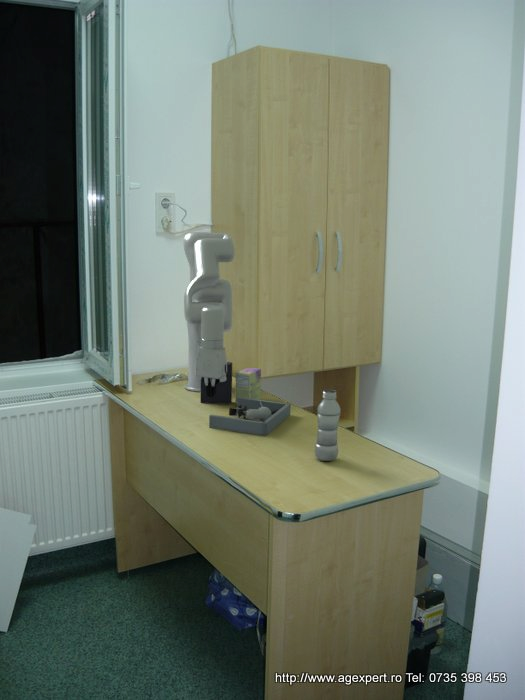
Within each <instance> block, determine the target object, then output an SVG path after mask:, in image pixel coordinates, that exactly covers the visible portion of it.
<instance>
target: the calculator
mask: <svg viewBox="0 0 525 700" xmlns="http://www.w3.org/2000/svg"><path fill="white" fill-rule="evenodd" d="M226 378H227V380H226V381H225V382H219V383H218V384H217V385H216V394H215V396H213V397H212V398H211V397H207V394H206V385H205V383H204V381H203V380H202V379H201V392H200V403H202V404H216V405H220V404H221V405H231V403H232V402H233V401H232V400H233V399H232V397H233V396H232V395H233V394H232V393H233V362H231V361H227V375H226ZM211 383H212V378H211Z"/></svg>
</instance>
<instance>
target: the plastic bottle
mask: <svg viewBox="0 0 525 700" xmlns="http://www.w3.org/2000/svg"><path fill="white" fill-rule="evenodd" d="M341 411H342V409H341V407H340V404H339V403H338V401H337V390H333V389H324V390H323V391H322V400H321V402H320V403H319V404H318V405H317V412H316V413H317V427H318V429H317V437H316V438H317V439H316V443H315V447H314V455H315V457H316V459H317V460H319V461H322V462H331V461H332V462H333V461H335V460H336V459H337V458H338V456H339V455H338V454H339V446H338V445H339V444H338V429H339V420H340V418H341V417H340V416H341Z"/></svg>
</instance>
